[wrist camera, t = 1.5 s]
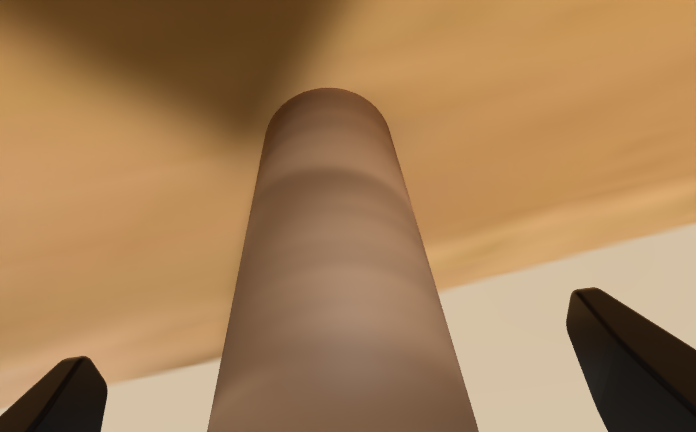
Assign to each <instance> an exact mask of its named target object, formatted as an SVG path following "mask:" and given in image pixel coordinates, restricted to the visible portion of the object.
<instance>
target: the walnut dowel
mask: <svg viewBox="0 0 696 432" xmlns="http://www.w3.org/2000/svg"><path fill="white" fill-rule="evenodd" d="M207 432H478V427H477V424H476V420H475V417H474V414H473V410H472V407H471V403H470V400H469V397H468V393H467V390H466V387H465V384H464V380H463V377H462V373H461V370H460V366H459V363H458V360H457V356H456V353H455V350H454V346H453V343H452V340H451V336H450V333H449V330H448V326H447V323H446V320H445V316H444V313H443V309H442V306H441V303H440V299H439V296H438V293H437V289H436V286H435V282H434V279H433V276H432V272H431V269H430V266H429V262H428V259H427V256H426V252H425V249H424V245H423V242H422V239H421V235H420V232H419V229H418V225H417V222H416V219H415V215H414V212H413V209H412V205H411V202H410V198H409V195H408V192H407V188H406V185H405V182H404V178H403V175H402V172H401V168H400V165H399V162H398V158H397V155H396V151H395V148H394V145H393V141H392V138H391V135H390V131H389V128H388V126H387V123H386V121H385V119H384V118H383V116H382V114H381V113H380V112H379V111H378V109H377V108H376V107H375V106H374V105H373V104H371V103H370V102H369V101H368V100H366V99H365V98H363V97H361V96H359V95H357V94H356V93H353V92H350V91H347V90H342V89H337V88H319V89H314V90H310V91H306V92H303V93H301V94H299V95H297V96H295V97H293V98H292V99H290V100H288V101H287V102H286V103H285V104H284V105H282V106H281V107H280V109H279V110H278V111H277V112H276V113H275V115H274V116H273V118H272V119H271V121H270V123H269V125H268V128H267V131H266V135H265V140H264V145H263V150H262V155H261V160H260V166H259V171H258V176H257V181H256V186H255V191H254V196H253V201H252V206H251V211H250V216H249V222H248V227H247V232H246V237H245V242H244V247H243V252H242V257H241V262H240V267H239V273H238V278H237V283H236V288H235V293H234V298H233V303H232V308H231V313H230V318H229V323H228V329H227V334H226V339H225V344H224V349H223V354H222V359H221V364H220V369H219V374H218V379H217V385H216V390H215V395H214V400H213V405H212V410H211V415H210V420H209V425H208V430H207Z"/></svg>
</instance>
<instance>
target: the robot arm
mask: <svg viewBox="0 0 696 432" xmlns="http://www.w3.org/2000/svg"><path fill="white" fill-rule="evenodd" d="M566 326H567V331H568V334H569V337H570V340H571V342H572V345H573V348H574V350H575V353H576V356H577V358H578V361H579V363H580V366H581V369H582V371H583V374H584V376H585V379H586V382H587V384H588V387H589V390H590V392H591V395H592V398H593V400H594V402H595V405H596V407H597V410H598V412H599V414H600V416H601V418H602V420H603V422H604V424H605V426H606V428H607V430H608V432H696V350H695V349H694V348H692V347H690V346H689V345H688V344H686V343H684V342H683V341H681V340H680V339H678V338H677V337H675V336H673V335H672V334H670V333H669V332H667V331H665V330H664V329H662V328H661V327H659V326H658V325H656V324H654V323H653V322H651V321H650V320H648V319H646V318H645V317H643V316H642V315H640V314H639V313H637V312H635V311H634V310H632V309H631V308H629V307H627V306H626V305H624V304H623V303H621V302H619V301H618V300H616V299H615V298H613V297H612V296H610V295H609V294H607V293H605V292H604V291H602V290H601V289H598V288H595V287H592V288H584V289H577V290H574V291H573V292H572V294H571V297H570V303H569V309H568V314H567V319H566ZM106 399H107V385H106V382H105V380H104V379H103V377H102V376H101V374H100V373H99V371H98V370H97V368H96V367H95V365H94V364H93V362H92V361H91V359H90V358H88V357H86V356H80V357H73V358H67V359H64V360H62V361H61V362H59V363H58V364H57V365H56V366H55V367H54V368H53V369H52V370H50V371H49V372H48V373H47V374H46V375H45V376H44V377H43V378H42V379H41V380H39V381H38V382H37V383H36V384H35V385H34V386H33V387H32V388H31V389H30V390H28V391H27V392H26V393H25V394H24V395H23V396H22V397H21V398H20V399H19V400H17V401H16V402H15V403H14V404H13V405H12V406H11V407H10V408H9V409H8V410H7V411H5V412H4V413H3V414H2V415H1V416H0V432H101V426H102V421H103V415H104V410H105V405H106Z"/></svg>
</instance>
